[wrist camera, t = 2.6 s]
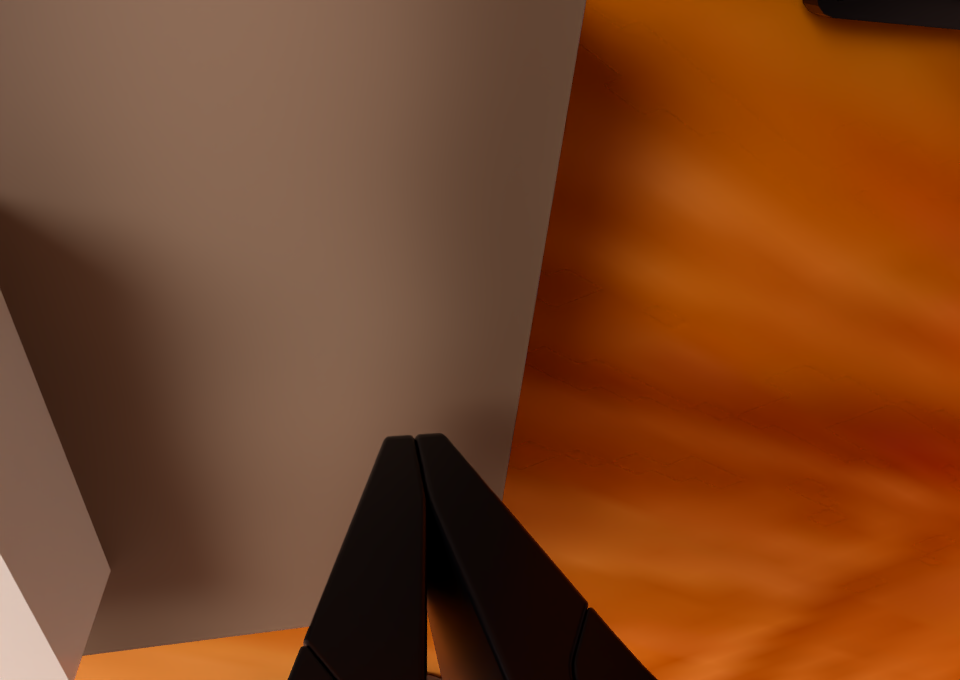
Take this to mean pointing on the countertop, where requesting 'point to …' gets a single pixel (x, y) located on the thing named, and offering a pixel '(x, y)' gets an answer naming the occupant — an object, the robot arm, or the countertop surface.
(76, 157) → the step
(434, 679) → the bottle
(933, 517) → the countertop surface
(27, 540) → the pale pink rectangular block
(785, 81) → the countertop surface
